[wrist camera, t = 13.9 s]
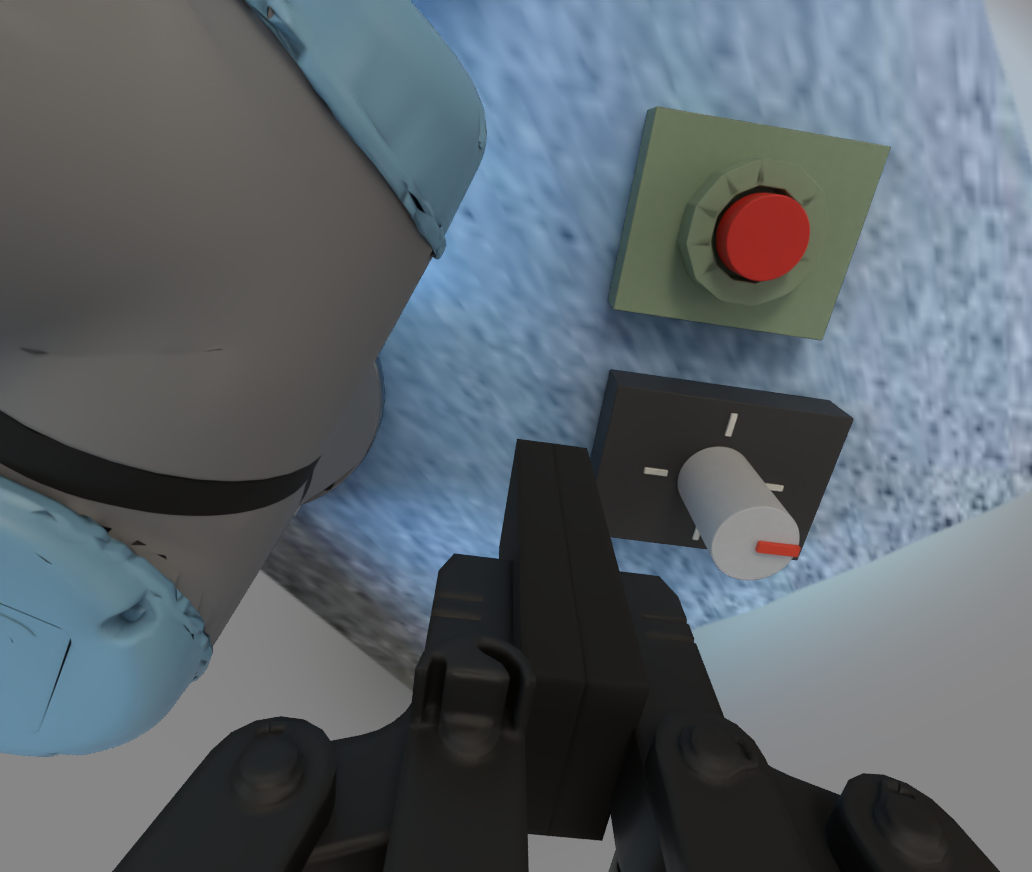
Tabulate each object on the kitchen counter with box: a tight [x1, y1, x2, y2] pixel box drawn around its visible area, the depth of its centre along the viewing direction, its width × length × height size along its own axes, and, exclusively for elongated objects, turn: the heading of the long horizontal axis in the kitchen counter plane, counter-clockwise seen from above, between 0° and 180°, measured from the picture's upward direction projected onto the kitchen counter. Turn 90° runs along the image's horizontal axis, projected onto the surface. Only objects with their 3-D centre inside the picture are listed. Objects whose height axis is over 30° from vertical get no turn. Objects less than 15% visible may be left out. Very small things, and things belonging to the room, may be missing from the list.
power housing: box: [608, 107, 891, 340], centre depth 33 cm, size 12×10×4 cm
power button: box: [716, 193, 810, 281], centre depth 30 cm, size 4×4×2 cm
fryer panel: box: [590, 369, 853, 560], centre depth 39 cm, size 14×10×3 cm
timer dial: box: [678, 447, 801, 580], centre depth 34 cm, size 4×4×7 cm
